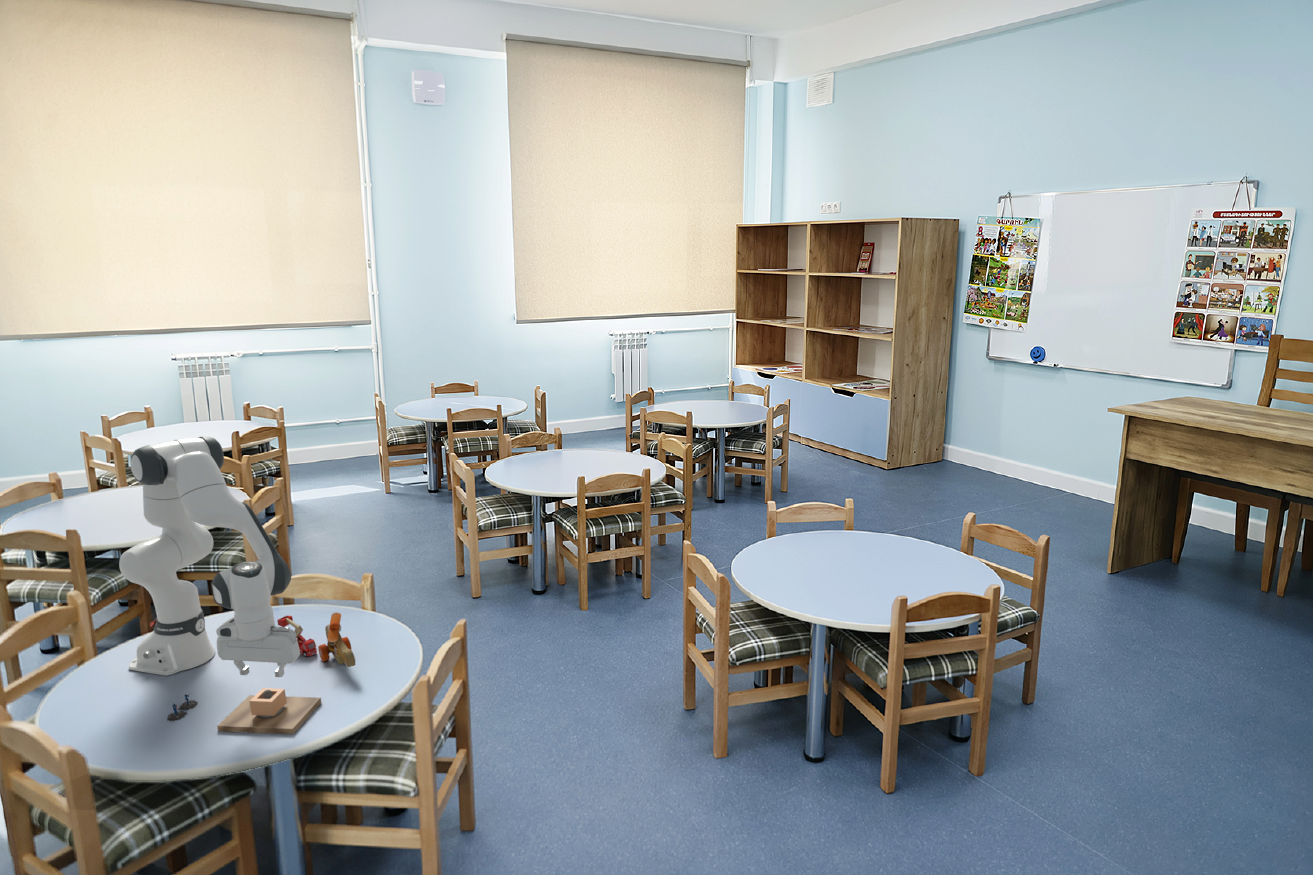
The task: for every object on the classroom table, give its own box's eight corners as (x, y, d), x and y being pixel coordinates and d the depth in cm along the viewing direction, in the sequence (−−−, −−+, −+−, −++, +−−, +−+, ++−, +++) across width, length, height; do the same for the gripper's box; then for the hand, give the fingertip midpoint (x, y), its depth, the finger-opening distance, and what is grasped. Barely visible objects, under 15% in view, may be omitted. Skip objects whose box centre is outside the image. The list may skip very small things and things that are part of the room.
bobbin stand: (218, 731, 205) (213, 704, 203) (250, 700, 219) (246, 674, 217) (293, 734, 203) (289, 706, 201) (321, 702, 217) (317, 676, 215)
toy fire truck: (309, 658, 240) (304, 628, 238) (280, 647, 247) (276, 618, 245) (318, 653, 243) (314, 623, 240) (290, 642, 250) (286, 613, 248)
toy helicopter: (346, 647, 246) (340, 605, 242) (369, 675, 230) (364, 630, 226) (318, 656, 241) (311, 613, 238) (340, 685, 225) (334, 639, 222)
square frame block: (251, 715, 208) (249, 700, 207) (265, 701, 214) (262, 688, 213) (274, 715, 207) (271, 701, 206) (286, 702, 213) (284, 688, 212)
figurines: (179, 722, 210) (176, 708, 209) (161, 722, 210) (158, 707, 209) (203, 701, 220) (200, 686, 218) (186, 700, 220) (183, 686, 219)
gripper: (301, 621, 207) (307, 670, 210) (225, 618, 209) (232, 666, 212) (287, 633, 201) (294, 683, 204) (209, 629, 203) (217, 679, 206)
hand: (262, 675), depth 208 cm, fingers open, 8 cm apart
